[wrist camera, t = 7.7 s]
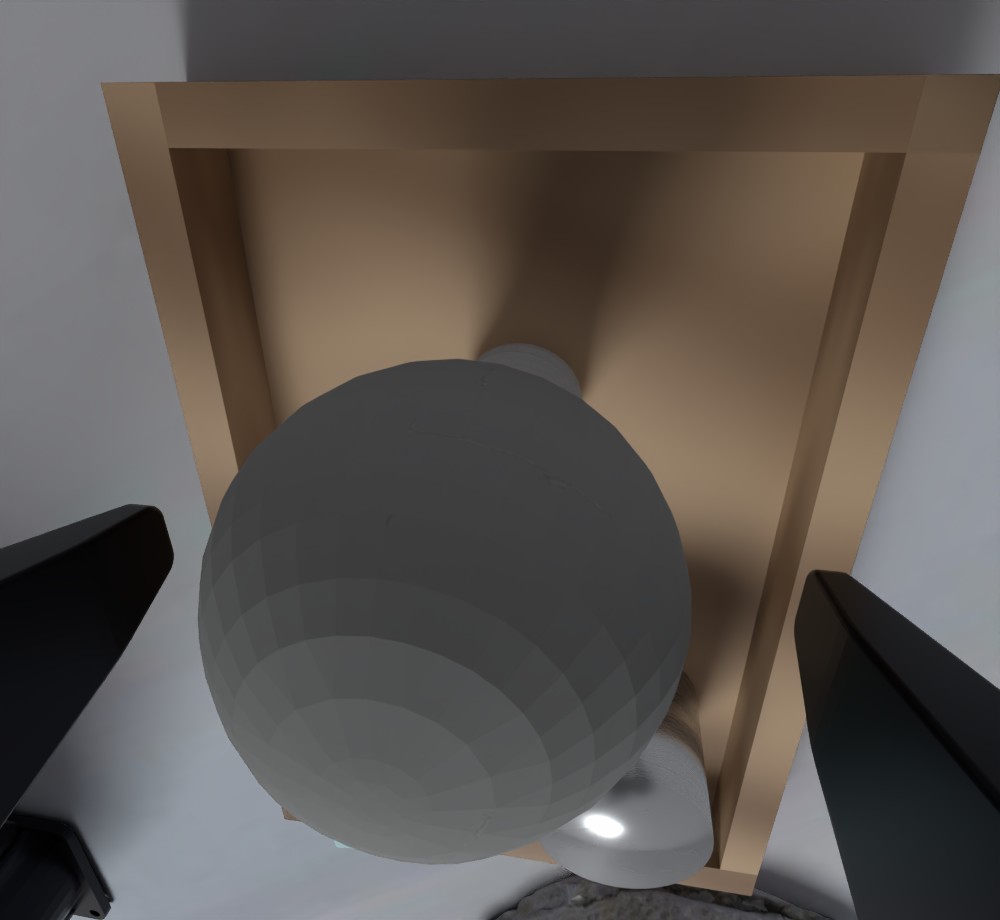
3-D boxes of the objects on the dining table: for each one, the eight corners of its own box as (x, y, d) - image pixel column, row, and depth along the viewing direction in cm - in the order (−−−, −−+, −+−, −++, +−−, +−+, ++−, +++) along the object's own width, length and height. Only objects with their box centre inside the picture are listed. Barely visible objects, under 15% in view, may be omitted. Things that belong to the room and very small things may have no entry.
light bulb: (644, 226, 13) (683, 478, 4) (675, 494, 15) (741, 1009, 6) (359, 282, 14) (-70, 557, 5) (431, 519, 17) (217, 967, 8)
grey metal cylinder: (686, 757, 19) (700, 901, 16) (548, 737, 20) (532, 872, 16) (707, 654, 17) (727, 792, 14) (554, 636, 18) (536, 764, 14)
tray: (738, 813, 21) (751, 896, 19) (316, 751, 23) (284, 819, 21) (932, 80, 11) (1004, 74, 9) (185, 86, 13) (100, 83, 11)
